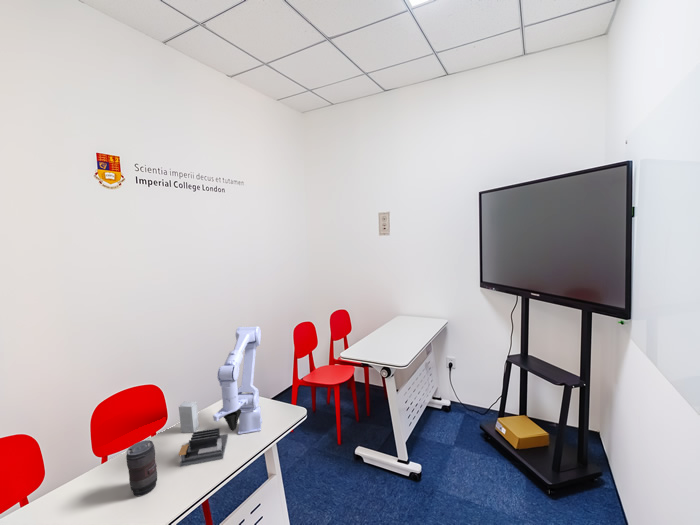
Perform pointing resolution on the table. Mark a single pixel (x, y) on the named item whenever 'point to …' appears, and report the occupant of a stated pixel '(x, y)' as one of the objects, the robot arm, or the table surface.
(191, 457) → the heatsink
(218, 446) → the clip
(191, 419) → the skincare box
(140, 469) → the camera lens
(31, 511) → the table surface
